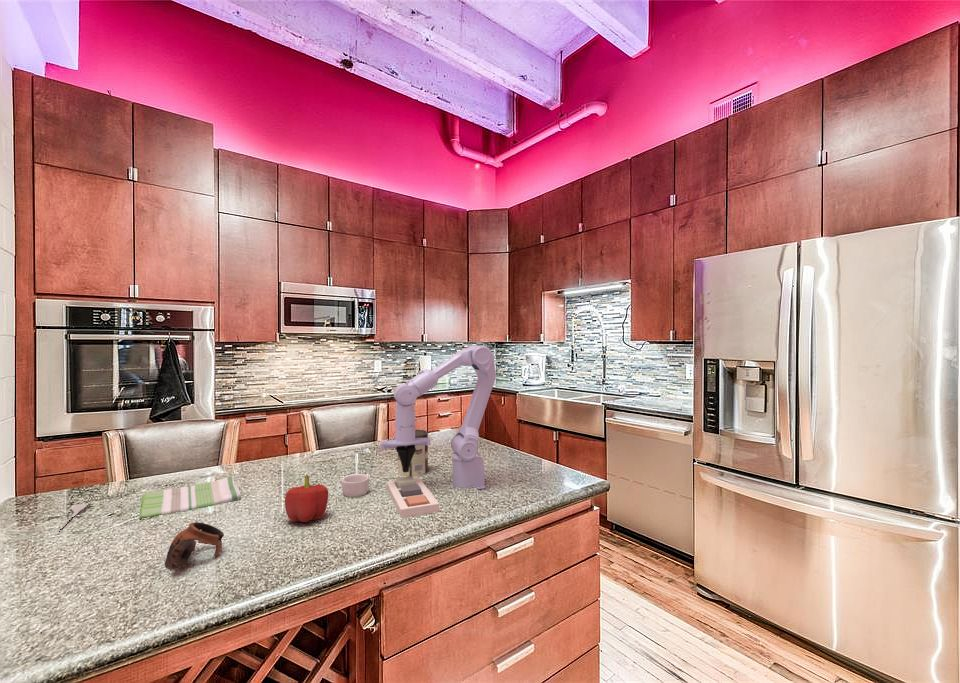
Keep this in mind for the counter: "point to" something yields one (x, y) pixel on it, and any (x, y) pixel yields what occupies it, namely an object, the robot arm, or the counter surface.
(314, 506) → the vegetable
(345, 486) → the teacup
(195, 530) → the brown curved piece
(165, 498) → the dish towel
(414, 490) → the key charcoal
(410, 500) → the key terracotta
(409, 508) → the pink tray
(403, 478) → the key sage
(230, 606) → the counter surface
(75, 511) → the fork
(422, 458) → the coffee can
